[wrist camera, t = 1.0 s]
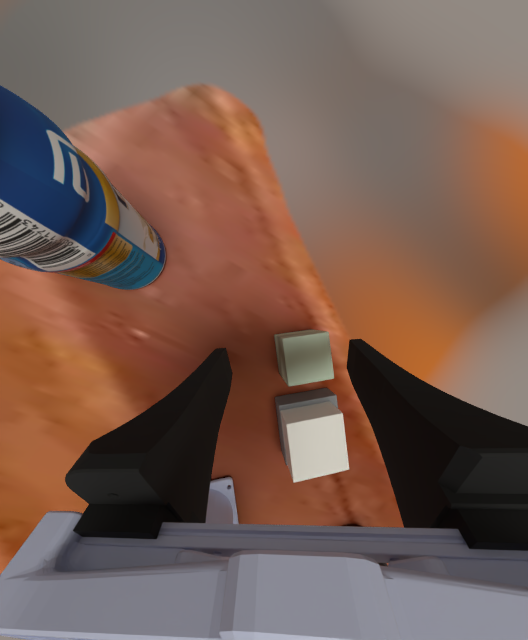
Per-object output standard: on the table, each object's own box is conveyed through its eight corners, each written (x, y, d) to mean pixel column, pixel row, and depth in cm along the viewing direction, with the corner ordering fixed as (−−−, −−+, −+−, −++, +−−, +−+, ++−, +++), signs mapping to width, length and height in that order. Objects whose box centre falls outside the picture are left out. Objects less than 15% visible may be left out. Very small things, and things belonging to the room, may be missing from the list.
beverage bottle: (80, 278, 23) (-985, 15, 3) (103, 207, 23) (-751, -486, 3) (156, 300, 24) (-251, 217, 4) (177, 232, 24) (-109, -169, 4)
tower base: (331, 437, 27) (343, 452, 24) (280, 448, 26) (286, 465, 23) (325, 386, 27) (336, 395, 24) (274, 395, 26) (278, 405, 23)
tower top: (335, 450, 24) (349, 469, 21) (286, 461, 23) (293, 482, 20) (329, 401, 24) (342, 413, 21) (280, 410, 23) (286, 424, 20)
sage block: (316, 367, 26) (334, 378, 22) (279, 373, 26) (288, 386, 21) (311, 329, 26) (328, 332, 21) (274, 334, 26) (282, 338, 21)
